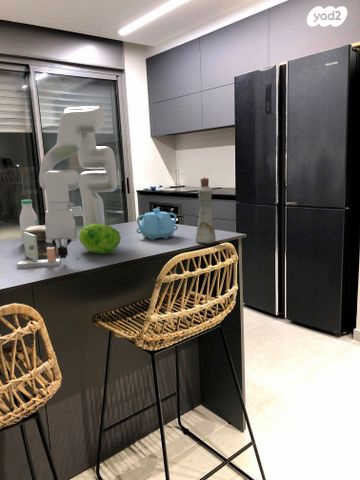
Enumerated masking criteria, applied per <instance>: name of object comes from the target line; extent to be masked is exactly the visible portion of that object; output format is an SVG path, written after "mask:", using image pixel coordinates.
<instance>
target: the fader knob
mask: <svg viewBox="0 0 360 480" xmlns="http://www.w3.org/2000/svg"><path fill="white" fill-rule="evenodd" d="M46 256H47V258H46V259H47V260H48V261H55V260H56V259H57V255H56V253H55V247H47V255H46Z"/></svg>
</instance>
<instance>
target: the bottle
mask: <svg viewBox="0 0 360 480" xmlns="http://www.w3.org/2000/svg"><path fill="white" fill-rule="evenodd" d="M209 181H210V180H209V178H208V177H207V178H206V177H205V176H204V177H202V178H200V187H199V189H198V190H197V194H198V195H197V196H198V201H199V206H200V207H199V213H198V222H197V228H196V233H195V235H196V236H195V242H196V243H201V244H206V245H207V244H215V242H216V240H217V239H216V233H215V232H216V230H215V225H214V220H213V215H212V213H213V212H212V208H211V204H212V197H213V196H212V195H213V189H212V188H211V187H210V186H209Z"/></svg>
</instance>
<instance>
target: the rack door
mask: <svg viewBox="0 0 360 480" xmlns="http://www.w3.org/2000/svg"><path fill="white" fill-rule="evenodd" d="M23 239H24V244H23V247H24V254H25V255H24V257H26V258H28V259H30V260H31V261H32V260H40V259H39V256H38V249H37V240H36V235H33V234H30V233H28V232H25V231H23Z"/></svg>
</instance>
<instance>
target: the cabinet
mask: <svg viewBox="0 0 360 480" xmlns="http://www.w3.org/2000/svg"><path fill="white" fill-rule="evenodd" d="M24 231H25V232H28V233H30V234H33V235H36V240H37V249H38V257H40V256H42V257H43V256H47V247H55V253H56V254H57V255H58V248H57V246H55V245H54V244H53V243H48V242H46V232H45V224H43V225H38V226H29V227H28V228H27V229H25V230H24ZM60 242H61V245H62V246H63V244H62V239H60Z"/></svg>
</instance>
